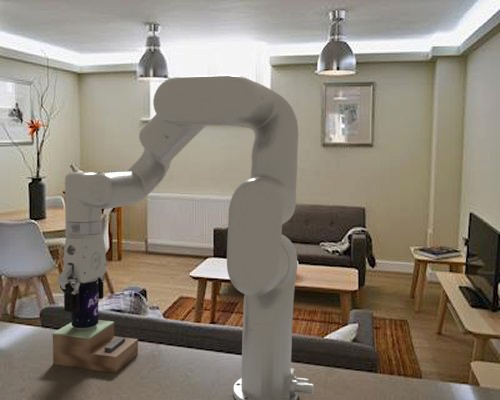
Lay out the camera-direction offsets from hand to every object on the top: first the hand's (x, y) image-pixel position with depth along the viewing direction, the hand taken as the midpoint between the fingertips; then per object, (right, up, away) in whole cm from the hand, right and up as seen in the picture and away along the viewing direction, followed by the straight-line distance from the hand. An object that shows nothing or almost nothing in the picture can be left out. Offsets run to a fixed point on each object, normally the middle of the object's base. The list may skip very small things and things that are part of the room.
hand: (84, 304), depth 105 cm
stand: (+3, -12, +1) cm, 13 cm away
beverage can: (0, -5, 0) cm, 5 cm away
